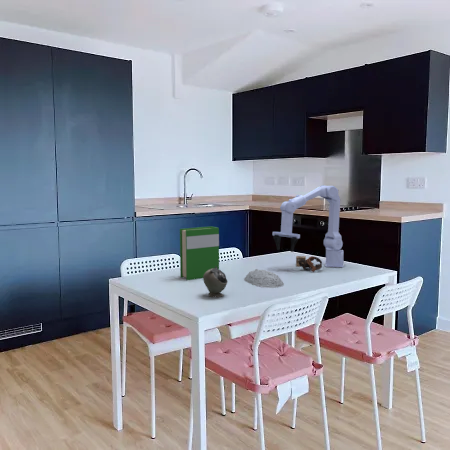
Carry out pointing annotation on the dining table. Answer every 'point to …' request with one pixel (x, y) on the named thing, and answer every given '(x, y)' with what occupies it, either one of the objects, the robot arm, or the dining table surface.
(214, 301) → the dining table surface
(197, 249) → the hardback book
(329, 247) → the robot arm
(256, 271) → the grey rock
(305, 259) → the letter cube
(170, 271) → the dining table surface
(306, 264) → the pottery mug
